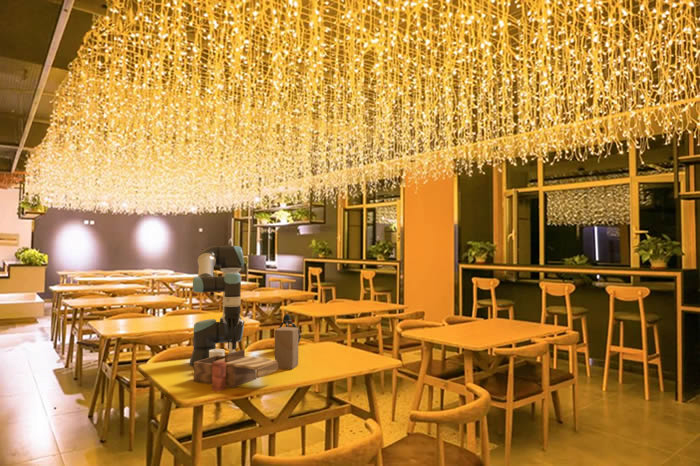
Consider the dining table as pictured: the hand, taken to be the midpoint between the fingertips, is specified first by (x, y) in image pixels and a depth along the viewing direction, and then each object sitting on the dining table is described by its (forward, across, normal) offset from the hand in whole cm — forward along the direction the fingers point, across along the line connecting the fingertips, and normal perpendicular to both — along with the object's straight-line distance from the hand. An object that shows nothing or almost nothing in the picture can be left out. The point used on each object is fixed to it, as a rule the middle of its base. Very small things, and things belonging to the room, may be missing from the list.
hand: (232, 356), depth 214 cm
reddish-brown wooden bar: (+12, +4, -13) cm, 18 cm away
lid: (+6, +8, 0) cm, 10 cm away
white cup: (+12, -21, +13) cm, 28 cm away
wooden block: (+12, +8, +34) cm, 37 cm away
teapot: (+12, -17, +67) cm, 70 cm away
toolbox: (+12, -4, 0) cm, 13 cm away
